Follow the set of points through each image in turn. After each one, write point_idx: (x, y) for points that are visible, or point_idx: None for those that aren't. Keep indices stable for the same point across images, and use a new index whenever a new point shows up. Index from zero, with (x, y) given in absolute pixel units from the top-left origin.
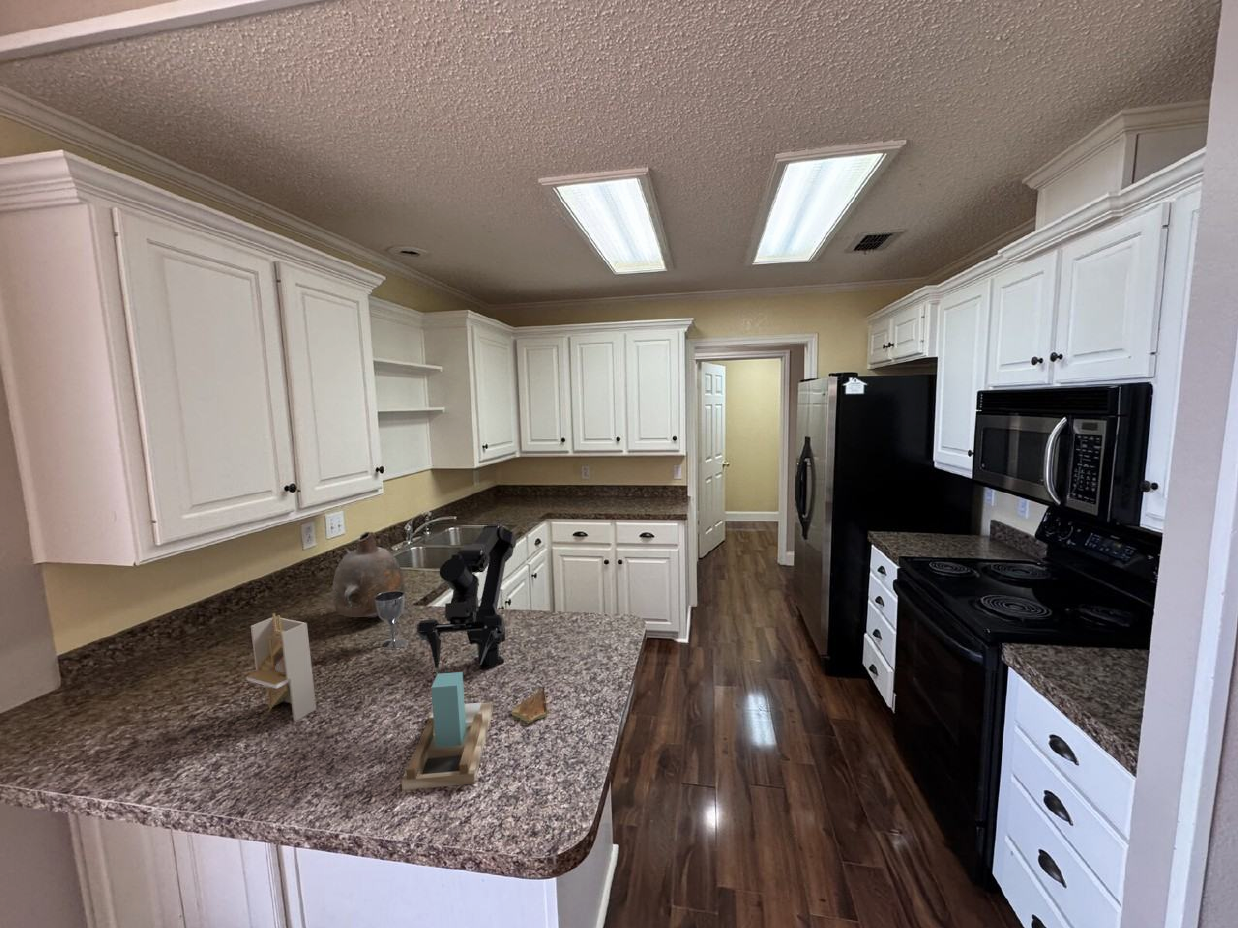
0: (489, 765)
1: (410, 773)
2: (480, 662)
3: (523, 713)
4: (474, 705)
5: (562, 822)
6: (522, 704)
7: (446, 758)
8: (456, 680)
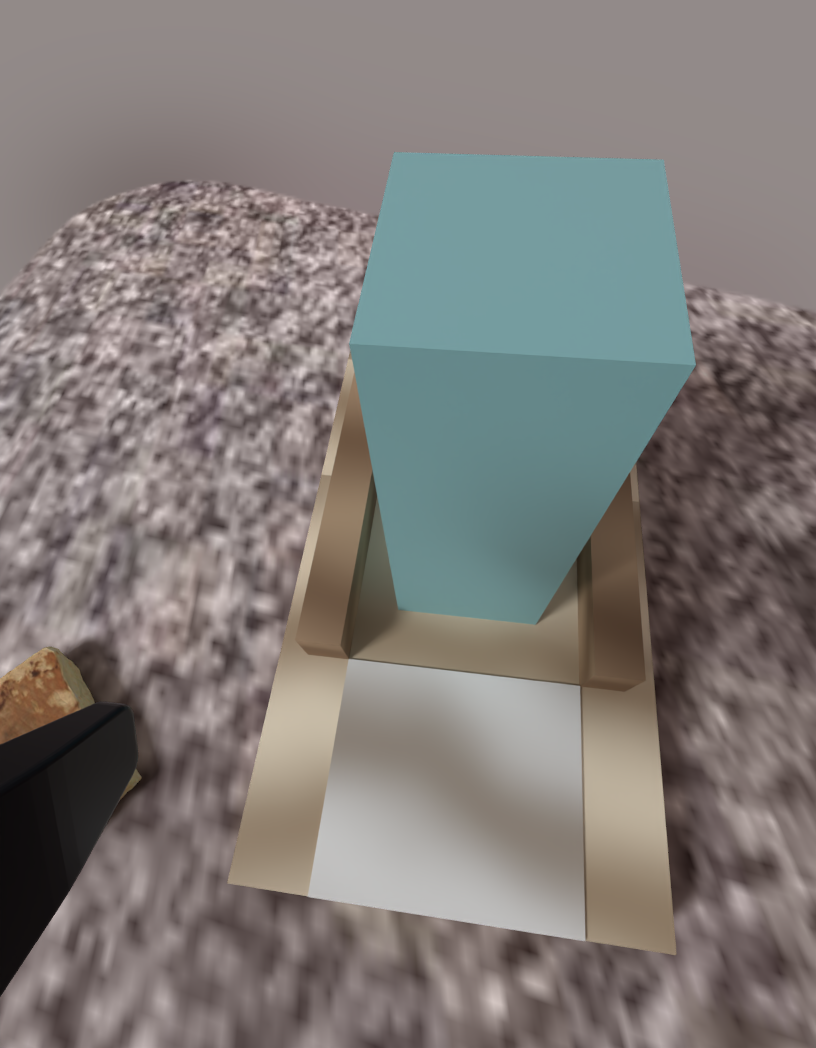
0: (300, 437)
1: None
2: (89, 709)
3: (67, 713)
4: (359, 867)
5: (129, 229)
6: None
7: None
8: (408, 213)
